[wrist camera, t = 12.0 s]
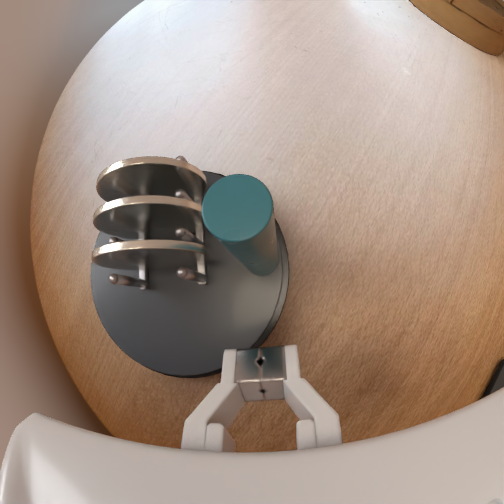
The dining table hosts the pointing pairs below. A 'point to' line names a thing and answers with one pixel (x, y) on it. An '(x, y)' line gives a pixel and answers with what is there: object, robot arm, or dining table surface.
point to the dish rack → (183, 262)
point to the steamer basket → (469, 21)
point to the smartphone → (496, 380)
